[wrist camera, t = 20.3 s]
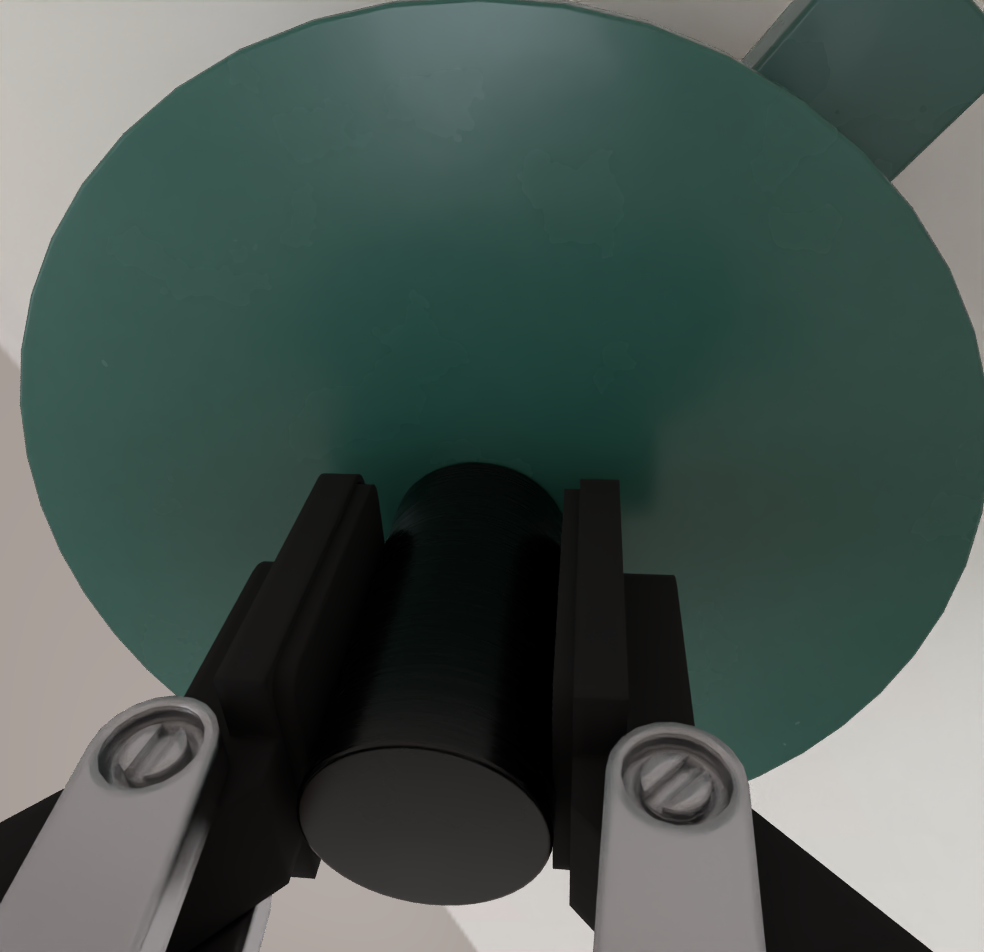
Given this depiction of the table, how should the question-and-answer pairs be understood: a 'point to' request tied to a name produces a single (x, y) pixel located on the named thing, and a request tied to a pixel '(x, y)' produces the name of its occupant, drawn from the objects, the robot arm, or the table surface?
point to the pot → (879, 68)
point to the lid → (505, 394)
